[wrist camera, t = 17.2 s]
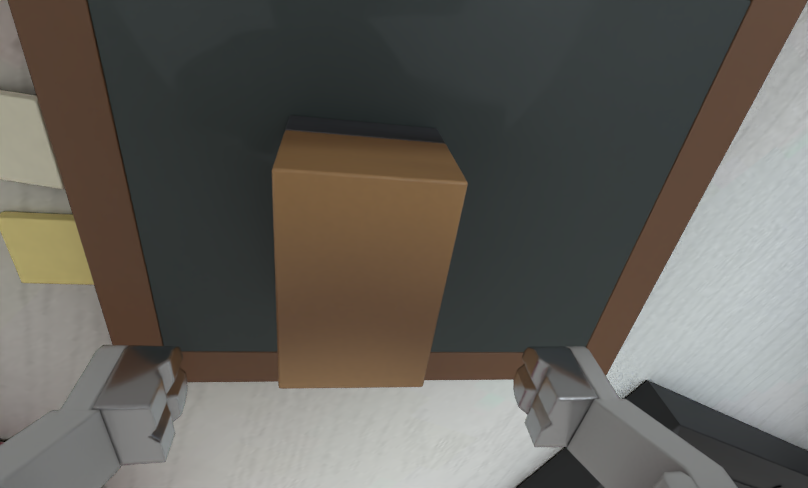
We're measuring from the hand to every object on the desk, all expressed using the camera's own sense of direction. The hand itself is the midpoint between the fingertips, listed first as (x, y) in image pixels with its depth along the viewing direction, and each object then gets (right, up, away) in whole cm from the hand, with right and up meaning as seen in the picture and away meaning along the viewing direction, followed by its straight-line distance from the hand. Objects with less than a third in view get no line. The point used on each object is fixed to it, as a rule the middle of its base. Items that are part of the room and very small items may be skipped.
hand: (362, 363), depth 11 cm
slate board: (+1, +5, +7) cm, 9 cm away
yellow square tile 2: (-12, +3, +7) cm, 14 cm away
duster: (-1, +4, +6) cm, 7 cm away
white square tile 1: (-12, +7, +4) cm, 14 cm away
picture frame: (+21, -19, +26) cm, 39 cm away
